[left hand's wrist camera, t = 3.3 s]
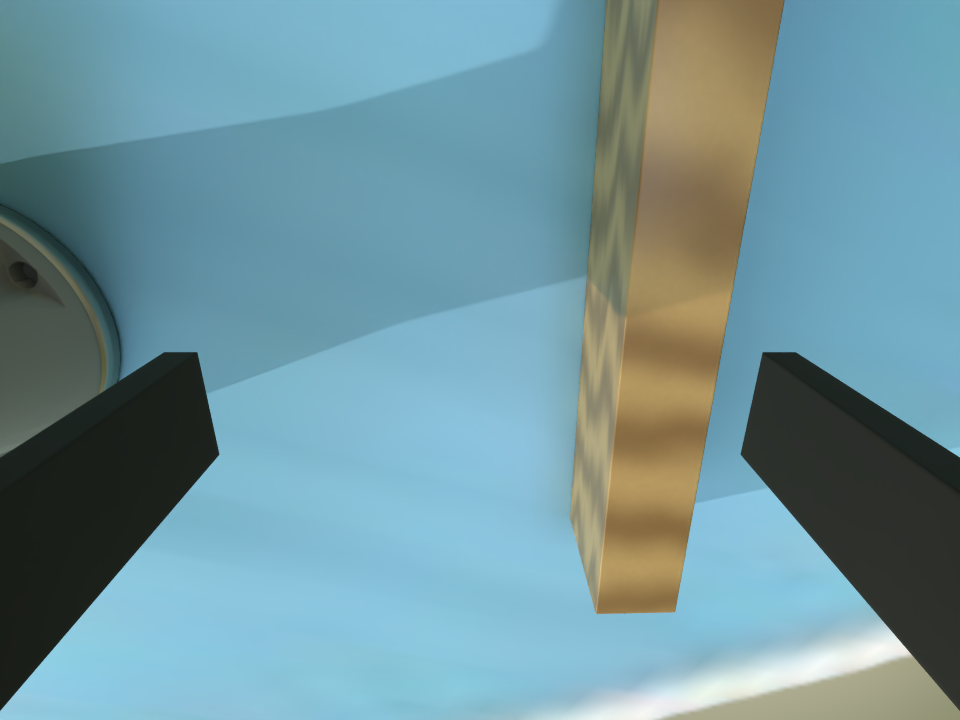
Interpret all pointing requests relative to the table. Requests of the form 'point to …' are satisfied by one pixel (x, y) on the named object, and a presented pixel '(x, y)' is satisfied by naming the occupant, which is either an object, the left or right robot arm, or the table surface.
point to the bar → (661, 277)
